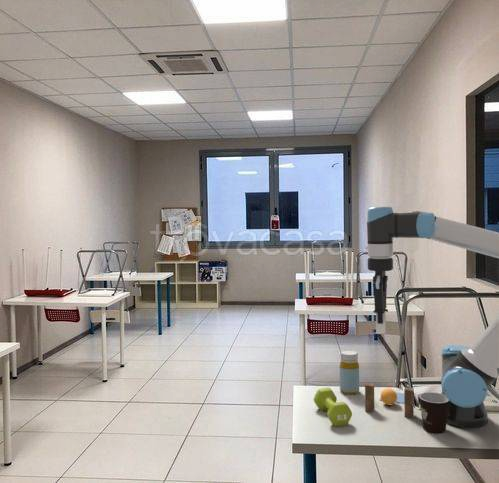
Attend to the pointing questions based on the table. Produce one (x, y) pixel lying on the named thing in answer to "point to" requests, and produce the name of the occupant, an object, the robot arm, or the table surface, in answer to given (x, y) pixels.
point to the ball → (388, 396)
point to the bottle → (349, 372)
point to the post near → (409, 401)
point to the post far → (369, 397)
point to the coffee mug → (434, 411)
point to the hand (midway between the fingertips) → (380, 333)
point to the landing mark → (399, 398)
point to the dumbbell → (333, 407)
